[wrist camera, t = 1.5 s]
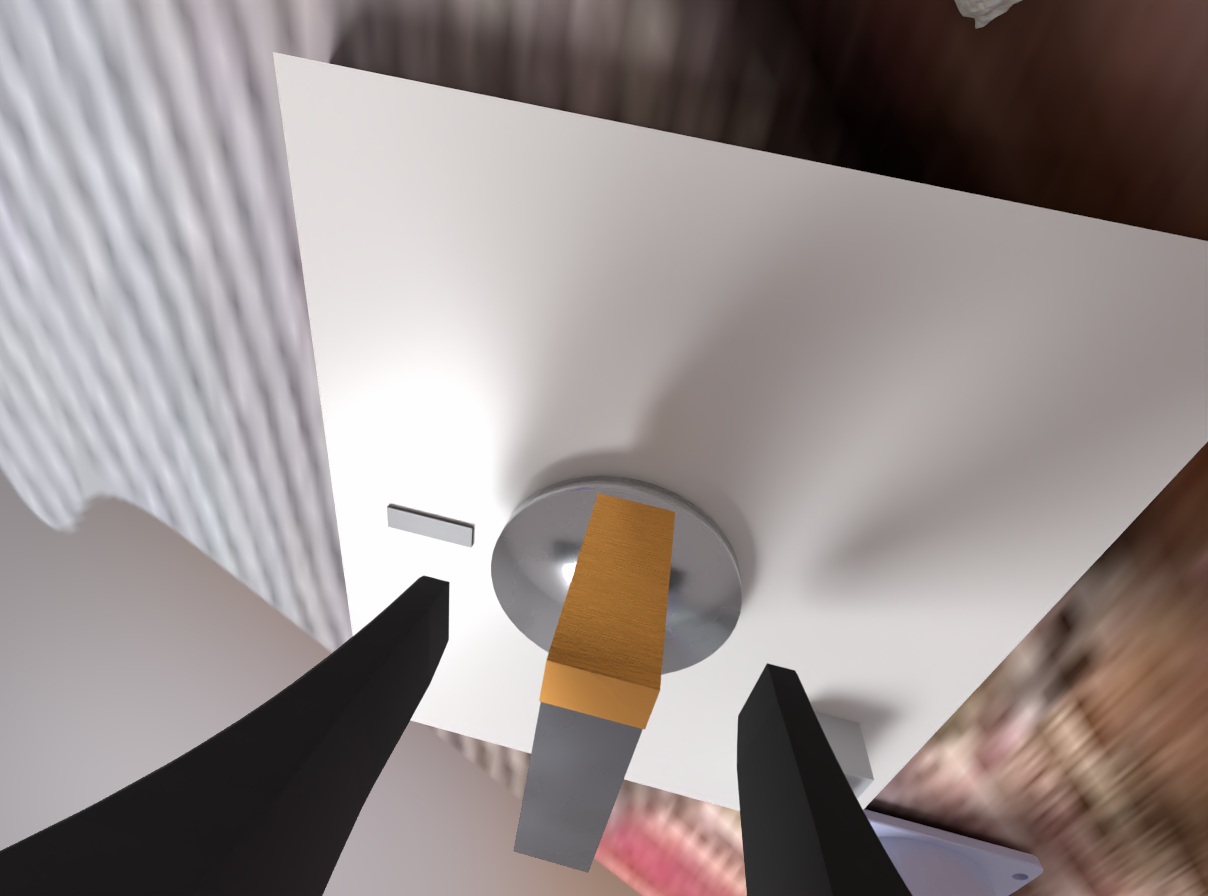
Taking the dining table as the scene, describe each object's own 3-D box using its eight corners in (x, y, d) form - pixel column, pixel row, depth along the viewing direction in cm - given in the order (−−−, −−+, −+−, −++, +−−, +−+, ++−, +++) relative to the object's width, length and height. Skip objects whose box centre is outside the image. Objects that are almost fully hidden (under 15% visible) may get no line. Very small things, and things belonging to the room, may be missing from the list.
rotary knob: (701, 680, 15) (699, 911, 11) (492, 626, 15) (403, 826, 11) (782, 503, 12) (830, 735, 7) (508, 437, 12) (386, 618, 7)
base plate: (828, 792, 20) (853, 923, 16) (383, 672, 21) (322, 773, 17) (1274, 255, 9) (1593, 317, 6) (326, 63, 10) (145, 24, 7)
